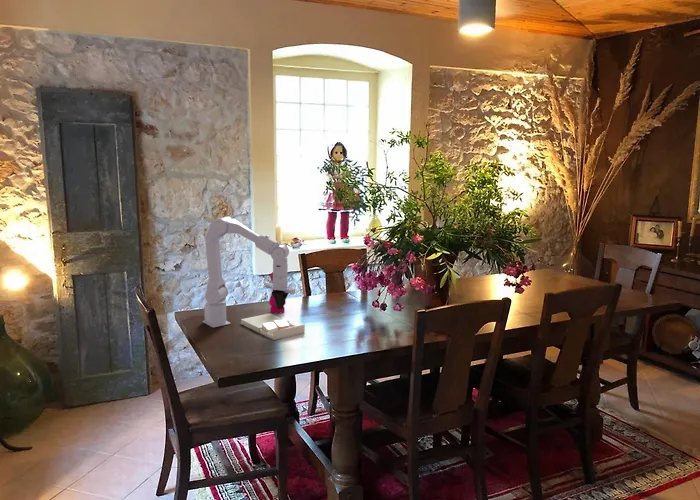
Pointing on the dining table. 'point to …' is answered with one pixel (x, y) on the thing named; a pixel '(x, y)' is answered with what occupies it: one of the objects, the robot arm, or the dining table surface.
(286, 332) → the tray
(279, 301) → the robot arm
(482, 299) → the dining table surface
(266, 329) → the tile cream
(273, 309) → the pepper mill
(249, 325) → the board
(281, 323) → the tile terracotta
